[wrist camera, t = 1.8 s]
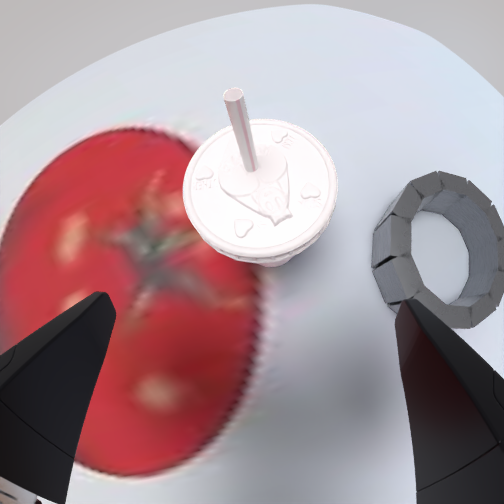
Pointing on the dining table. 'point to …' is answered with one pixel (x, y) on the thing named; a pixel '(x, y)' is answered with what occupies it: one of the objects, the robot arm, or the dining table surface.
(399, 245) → the stone ring
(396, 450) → the dining table surface
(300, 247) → the smoothie
